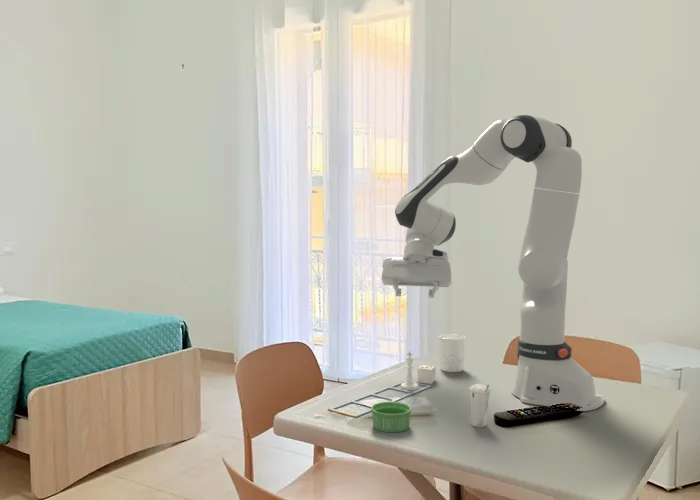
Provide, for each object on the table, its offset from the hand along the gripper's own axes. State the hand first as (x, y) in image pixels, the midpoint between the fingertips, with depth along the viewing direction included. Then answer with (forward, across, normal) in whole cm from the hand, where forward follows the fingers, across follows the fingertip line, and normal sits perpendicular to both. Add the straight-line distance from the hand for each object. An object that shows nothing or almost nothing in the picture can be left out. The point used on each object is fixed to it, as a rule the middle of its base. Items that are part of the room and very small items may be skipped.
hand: (414, 295), depth 186 cm
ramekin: (+47, -1, -14) cm, 50 cm away
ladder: (+33, -6, 0) cm, 33 cm away
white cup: (+10, +11, +23) cm, 27 cm away
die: (+20, +4, +13) cm, 24 cm away
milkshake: (+44, +19, -11) cm, 49 cm away
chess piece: (+25, 0, +8) cm, 26 cm away
